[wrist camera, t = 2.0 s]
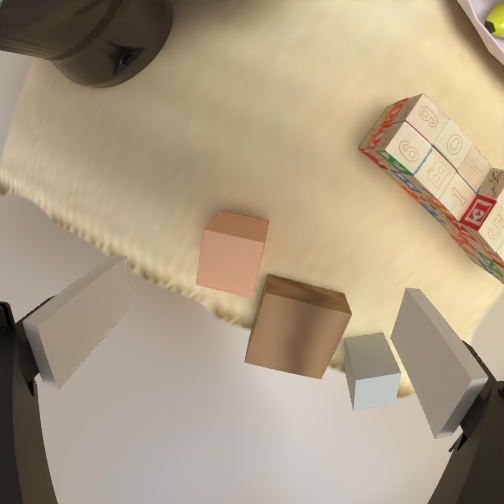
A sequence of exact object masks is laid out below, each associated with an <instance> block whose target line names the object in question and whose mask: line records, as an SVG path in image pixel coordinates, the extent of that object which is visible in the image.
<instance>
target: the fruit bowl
mask: <svg viewBox="0 0 504 504" xmlns="http://www.w3.org/2000/svg"><path fill="white" fill-rule="evenodd" d="M457 1H458V2H459V4H460V5H461V7H462V8H463V10H464V11H465V13H466V14H467V16H468V17H469V19H470V20H471V22H472V23H473V25H474V27H475V28H476V30H477V32H478V33H479V35H480V37H481V38H482V40H483V42H484V44H485V45H486V47H487V49H488V51H489V52H490V53H491V54H492V55H493V56H494V57H495V58H496V59H497V60H499V61H500V62H501V63H502V64H503V65H504V0H457Z"/></svg>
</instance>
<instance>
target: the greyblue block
mask: <svg viewBox="0 0 504 504" xmlns="http://www.w3.org/2000/svg"><path fill="white" fill-rule="evenodd" d="M344 369H345V374H346V378H347V383H348V388H349V392H350V397H351V402H352V407H353V411H358V410H365V409H371V408H376V407H382V406H387V405H392V404H395V402H396V397H397V392H398V387H399V382H400V376H401V371H400V369H399V367H398V364H397V362H396V360H395V358H394V355H393V353H392V351H391V349H390V347H389V344H388V342H387V340H386V338H385V336H384V334H383V333H377V334H371V335H364V336H357V337H349V338H345V359H344Z"/></svg>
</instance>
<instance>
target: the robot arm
mask: <svg viewBox="0 0 504 504" xmlns="http://www.w3.org/2000/svg"><path fill="white" fill-rule="evenodd" d="M172 17H173V11H172V5H171V2H170V0H0V50H2V51H8V52H13V53H19V54H24V55H29V56H33V57H38V58H43V59H47V60H50V61H51V62H52V63H53V64H54V65H55V66H56V67H57V68H58V69H59V70H60V71H61V72H62V73H63V74H64V75H65V76H66V77H67V78H69V79H70V80H72V81H73V82H75V83H78V84H81V85H85V86H89V87H95V88H103V87H109V86H113V85H116V84H119V83H121V82H124V81H126V80H128V79H129V78H131V77H133V76H134V75H136V74H137V73H138V72H140V71H141V70H142V69H143V68H144V67H146V66H147V65H148V64H149V63H150V62H151V61H152V59H153V58H154V57H155V56H156V55H157V53H158V52H159V51H160V49H161V48H162V46H163V44H164V42H165V41H166V39H167V36H168V34H169V31H170V28H171V24H172ZM127 272H128V271H127V257H124V256H117V255H112V256H111V257H109V258H108V259H106V260H105V261H104V262H102V263H101V264H99V265H98V266H96V267H95V268H93V269H92V270H91V271H89V272H88V273H86V274H85V275H84V276H82V277H81V278H80V279H78V280H77V281H75V282H74V283H72V284H71V285H70V286H68V287H67V288H66V289H64V290H63V291H62V292H60V293H59V294H58V295H56V296H53V297H51V298H48V299H47V300H46V301H44V302H43V303H41V304H40V306H38V307H36V308H35V309H34V310H32V311H31V312H30V313H28V314H27V315H26V316H25V317H23V318H22V319H21V320H19V321H18V322H17V323H16V324H15V322H14V318H13V314H12V311H11V307H10V305H9V304H8V303H6V302H0V504H58V503H57V499H56V496H55V492H54V489H53V485H52V481H51V477H50V472H49V468H48V463H47V458H46V453H45V447H44V442H43V436H42V429H41V421H40V413H39V404H38V393H37V384H36V381H35V379H34V377H35V376H36V375H37V374H38V373H40V375H41V378H42V380H43V383H44V385H47V386H49V387H51V388H53V389H56V390H58V391H59V390H60V389H61V388H62V387H63V385H64V384H65V383H66V382H67V381H68V379H69V378H70V377H71V376H72V374H73V373H74V372H75V371H76V370H77V369H78V367H79V366H80V365H81V364H82V363H83V362H84V360H85V359H86V358H87V357H88V356H89V354H90V353H91V352H92V351H93V350H94V349H95V347H96V346H97V345H98V344H99V343H100V342H101V341H102V339H103V338H104V337H105V336H106V335H107V334H108V333H109V331H110V330H111V329H112V328H113V327H114V326H115V325H116V324H117V322H118V321H119V320H120V319H121V318H122V317H123V316H124V314H125V313H126V312H127V311H128V310H129V309H130V308H131V305H130V295H129V284H128V273H127ZM391 340H392V342H393V344H394V346H395V348H396V350H397V352H398V355H399V357H400V359H401V361H402V363H403V365H404V367H405V369H406V372H407V374H408V376H409V378H410V380H411V383H412V385H413V387H414V389H415V392H416V394H417V396H418V399H419V401H420V403H421V406H422V408H423V410H424V413H425V415H426V417H427V420H428V423H429V425H430V427H431V430H432V433H433V435H434V438H435V439H436V438H443V437H448V436H452V435H453V433H454V432H455V430H456V429H457V428H458V426H459V425H460V426H461V428H462V430H463V433H462V434H461V435H460V437H459V438H458V439H457V441H456V442H455V443H454V444H453V446H452V447H451V448H450V450H449V452H451V451H452V450H453V449H454V450H453V453H452V455H451V457H450V460H449V462H448V464H447V466H446V469H445V471H444V473H443V475H442V477H441V479H440V481H439V483H438V485H437V487H436V489H435V491H434V493H433V495H432V497H431V499H430V500H429V502H428V504H504V381H498V382H497V380H496V379H495V378H494V376H493V375H492V374H491V372H490V371H489V369H488V368H487V367H486V365H485V364H484V363H482V360H481V358H480V357H479V356H478V355H477V353H476V352H475V351H474V349H473V348H472V347H471V346H470V345H468V344H467V343H466V342H465V341H463V340H461V339H460V338H459V337H458V335H457V334H456V333H455V331H454V330H453V329H452V328H451V326H450V325H449V324H448V323H447V321H446V320H445V319H444V318H443V316H442V315H441V314H440V313H439V312H438V310H437V309H436V308H435V307H434V305H433V304H432V303H431V302H430V301H429V300H428V298H427V297H426V296H425V295H424V294H423V292H422V291H421V290H420V289H414V288H406V289H405V293H404V296H403V300H402V303H401V306H400V310H399V313H398V316H397V319H396V322H395V326H394V329H393V332H392V335H391Z"/></svg>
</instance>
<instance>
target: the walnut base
mask: <svg viewBox="0 0 504 504" xmlns="http://www.w3.org/2000/svg"><path fill="white" fill-rule="evenodd" d="M351 315H352V313H351V310H350V308H349V305H348V302H347V300H346V297H345V294H343V293H339V292H335V291H331V290H327V289H324V288H320V287H316V286H312V285H308V284H304V283H301V282H297V281H293V280H289V279H285V278H282V277H278V276H274V275H270V274H268V277H267V281H266V284H265V287H264V291H263V294H262V297H261V301H260V304H259V308H258V311H257V314H256V317H255V321H254V324H253V327H252V331H251V334H250V337H249V342H248V347H247V352H246V357H245V362H246V363H250V364H254V365H258V366H262V367H266V368H270V369H275V370H279V371H284V372H288V373H293V374H297V375H302V376H307V377H312V378H318V379H321V378H322V376H323V374H324V372H325V370H326V369H327V367H328V365H329V363H330V360H331V358H332V356H333V354H334V352H335V350H336V348H337V346H338V344H339V342H340V340H341V338H342V335H343V333H344V331H345V329H346V327H347V324H348V322H349V320H350V318H351Z"/></svg>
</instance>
